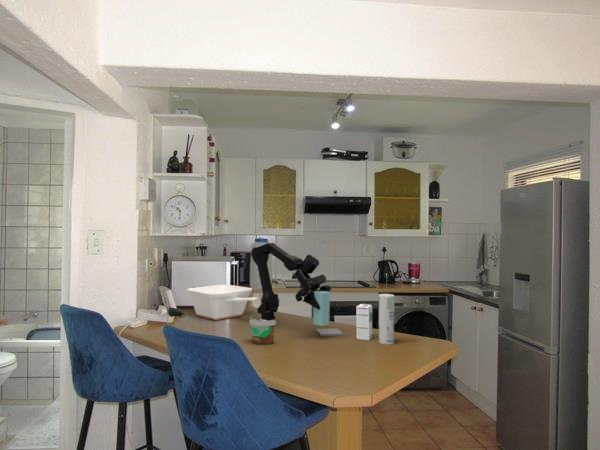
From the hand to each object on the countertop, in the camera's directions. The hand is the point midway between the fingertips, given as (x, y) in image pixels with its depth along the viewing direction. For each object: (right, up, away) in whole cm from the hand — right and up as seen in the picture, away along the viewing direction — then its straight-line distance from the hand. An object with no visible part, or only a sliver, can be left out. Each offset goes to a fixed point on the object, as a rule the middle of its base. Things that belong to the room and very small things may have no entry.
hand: (323, 308), depth 180 cm
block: (-1, -7, +1) cm, 7 cm away
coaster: (+3, -13, +11) cm, 18 cm away
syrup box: (+18, -14, +2) cm, 23 cm away
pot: (-48, -14, +40) cm, 65 cm away
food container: (-27, -13, -8) cm, 31 cm away
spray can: (+26, -14, -5) cm, 30 cm away
